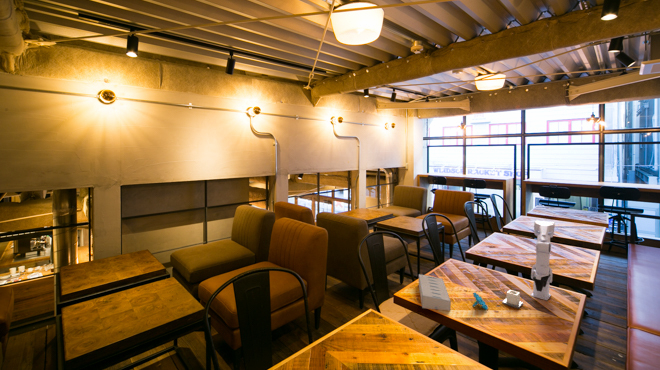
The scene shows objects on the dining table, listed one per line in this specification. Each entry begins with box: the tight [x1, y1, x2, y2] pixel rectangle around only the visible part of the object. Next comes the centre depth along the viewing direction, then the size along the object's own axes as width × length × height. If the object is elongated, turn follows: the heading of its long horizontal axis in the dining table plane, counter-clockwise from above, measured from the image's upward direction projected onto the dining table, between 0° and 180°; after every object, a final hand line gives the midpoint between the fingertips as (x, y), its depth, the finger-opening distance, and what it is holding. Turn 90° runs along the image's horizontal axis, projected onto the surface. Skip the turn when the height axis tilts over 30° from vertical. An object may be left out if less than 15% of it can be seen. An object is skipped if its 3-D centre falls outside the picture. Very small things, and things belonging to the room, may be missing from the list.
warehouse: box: [418, 273, 452, 312], centre depth 173 cm, size 30×14×8 cm, turn 167°
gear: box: [472, 292, 489, 311], centre depth 161 cm, size 11×6×10 cm
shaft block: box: [502, 298, 524, 310], centre depth 164 cm, size 8×8×6 cm
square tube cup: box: [505, 289, 521, 305], centre depth 163 cm, size 5×5×6 cm
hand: (541, 288), depth 160 cm, fingers open, 7 cm apart
